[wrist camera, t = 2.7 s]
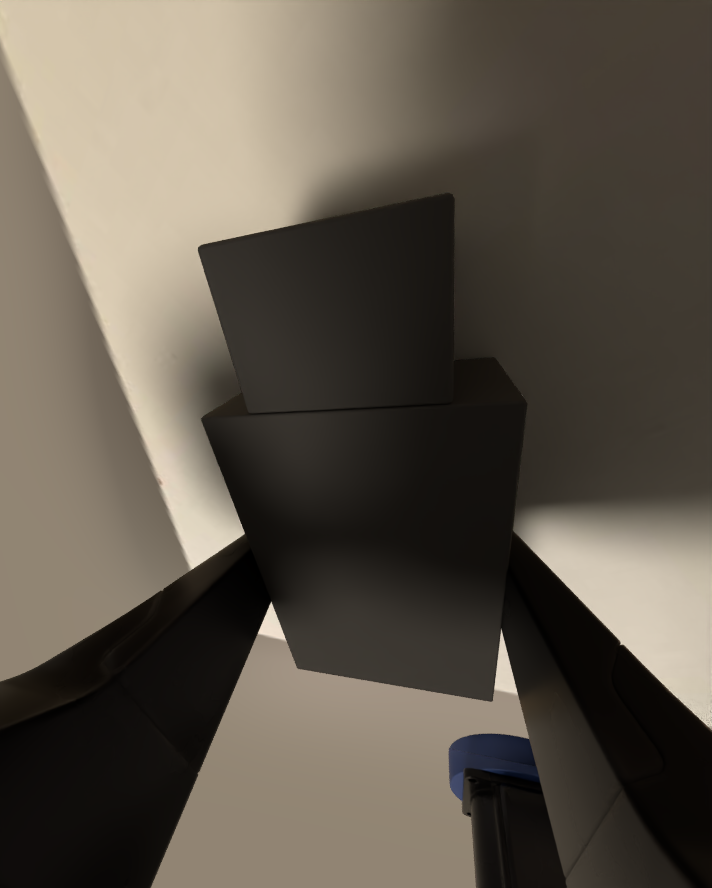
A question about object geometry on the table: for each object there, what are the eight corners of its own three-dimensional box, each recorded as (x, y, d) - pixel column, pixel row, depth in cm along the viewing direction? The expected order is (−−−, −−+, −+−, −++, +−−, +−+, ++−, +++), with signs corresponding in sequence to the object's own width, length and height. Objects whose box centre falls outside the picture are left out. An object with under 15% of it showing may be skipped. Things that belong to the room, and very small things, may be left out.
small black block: (504, 212, 6) (557, 168, 4) (479, 606, 11) (492, 702, 9) (236, 262, 8) (137, 257, 5) (323, 590, 13) (296, 669, 10)
